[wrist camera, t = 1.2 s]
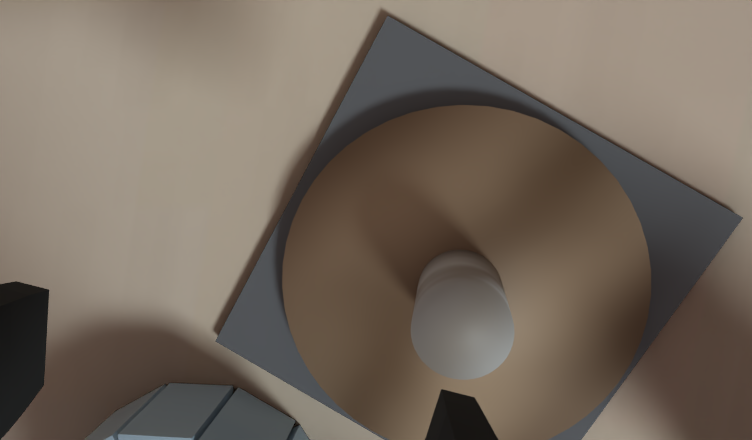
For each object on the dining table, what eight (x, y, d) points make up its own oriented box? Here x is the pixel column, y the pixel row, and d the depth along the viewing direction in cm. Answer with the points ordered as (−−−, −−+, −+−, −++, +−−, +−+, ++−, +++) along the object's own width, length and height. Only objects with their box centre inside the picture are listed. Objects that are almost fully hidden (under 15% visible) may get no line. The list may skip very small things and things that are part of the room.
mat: (737, 215, 21) (742, 217, 21) (521, 513, 24) (522, 520, 24) (388, 17, 21) (387, 15, 21) (219, 337, 24) (215, 341, 24)
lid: (720, 222, 21) (799, 256, 16) (518, 503, 24) (535, 601, 19) (392, 36, 21) (376, 16, 16) (231, 337, 24) (178, 394, 19)
